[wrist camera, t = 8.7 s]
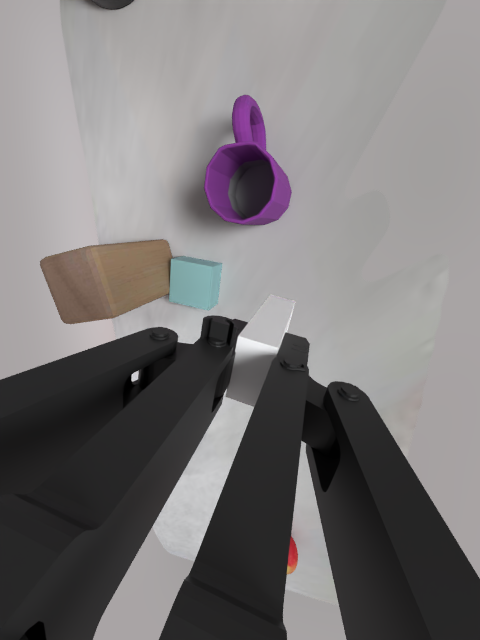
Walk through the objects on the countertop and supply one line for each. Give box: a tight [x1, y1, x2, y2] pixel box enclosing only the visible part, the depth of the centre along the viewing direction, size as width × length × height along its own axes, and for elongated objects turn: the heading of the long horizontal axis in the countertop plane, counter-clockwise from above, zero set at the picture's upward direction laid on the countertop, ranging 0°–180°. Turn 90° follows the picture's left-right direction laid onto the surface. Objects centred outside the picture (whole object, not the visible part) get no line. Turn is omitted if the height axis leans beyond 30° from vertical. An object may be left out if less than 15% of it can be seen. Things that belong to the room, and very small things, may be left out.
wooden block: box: [40, 239, 172, 324], centre depth 47 cm, size 10×10×20 cm
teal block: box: [169, 256, 222, 310], centre depth 52 cm, size 8×8×5 cm
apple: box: [287, 537, 298, 574], centre depth 65 cm, size 8×8×10 cm
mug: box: [204, 95, 292, 225], centre depth 38 cm, size 9×16×15 cm, turn 5°
